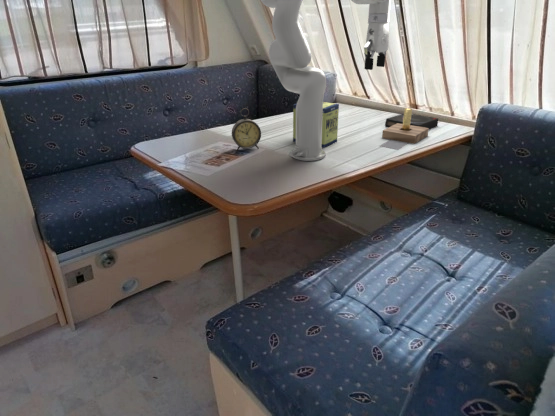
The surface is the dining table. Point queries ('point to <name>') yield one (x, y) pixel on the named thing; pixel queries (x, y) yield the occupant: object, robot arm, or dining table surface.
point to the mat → (393, 144)
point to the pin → (407, 119)
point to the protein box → (324, 123)
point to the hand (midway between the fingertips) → (374, 68)
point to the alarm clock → (246, 133)
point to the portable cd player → (413, 121)
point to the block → (405, 133)
